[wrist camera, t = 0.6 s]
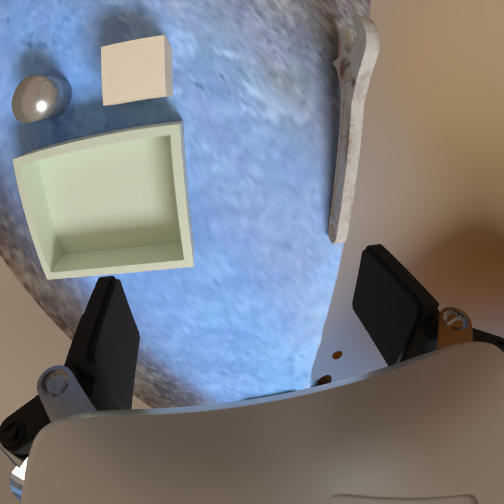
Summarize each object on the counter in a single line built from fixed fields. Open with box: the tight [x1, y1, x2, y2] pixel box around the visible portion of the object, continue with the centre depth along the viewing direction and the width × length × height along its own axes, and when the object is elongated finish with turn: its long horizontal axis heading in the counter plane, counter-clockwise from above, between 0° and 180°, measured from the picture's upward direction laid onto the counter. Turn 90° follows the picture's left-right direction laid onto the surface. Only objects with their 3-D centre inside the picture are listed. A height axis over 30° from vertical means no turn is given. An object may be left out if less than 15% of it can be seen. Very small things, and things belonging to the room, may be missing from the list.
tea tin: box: [12, 75, 72, 123], centre depth 22 cm, size 5×5×6 cm
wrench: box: [328, 14, 380, 244], centre depth 31 cm, size 8×2×30 cm
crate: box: [13, 121, 194, 280], centre depth 30 cm, size 16×20×5 cm
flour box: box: [101, 35, 173, 106], centre depth 23 cm, size 6×6×7 cm
